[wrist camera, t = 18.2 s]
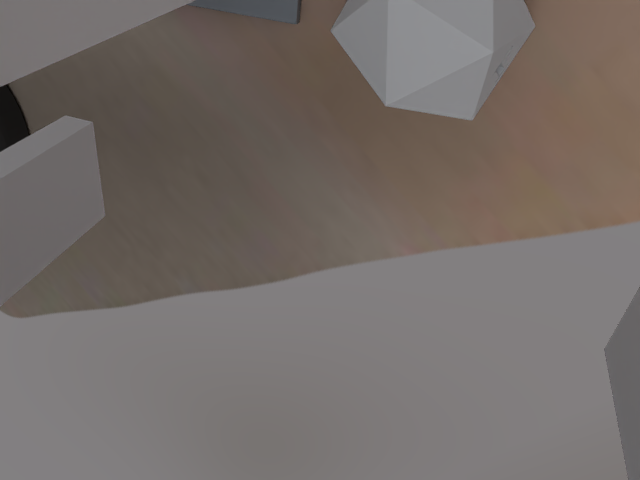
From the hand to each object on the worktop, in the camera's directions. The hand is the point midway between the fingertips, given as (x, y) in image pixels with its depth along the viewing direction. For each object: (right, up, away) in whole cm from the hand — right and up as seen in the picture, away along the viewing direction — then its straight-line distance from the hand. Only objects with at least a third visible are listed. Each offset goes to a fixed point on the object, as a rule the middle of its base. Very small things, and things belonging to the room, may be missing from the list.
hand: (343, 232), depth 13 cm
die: (+6, +12, +17) cm, 22 cm away
